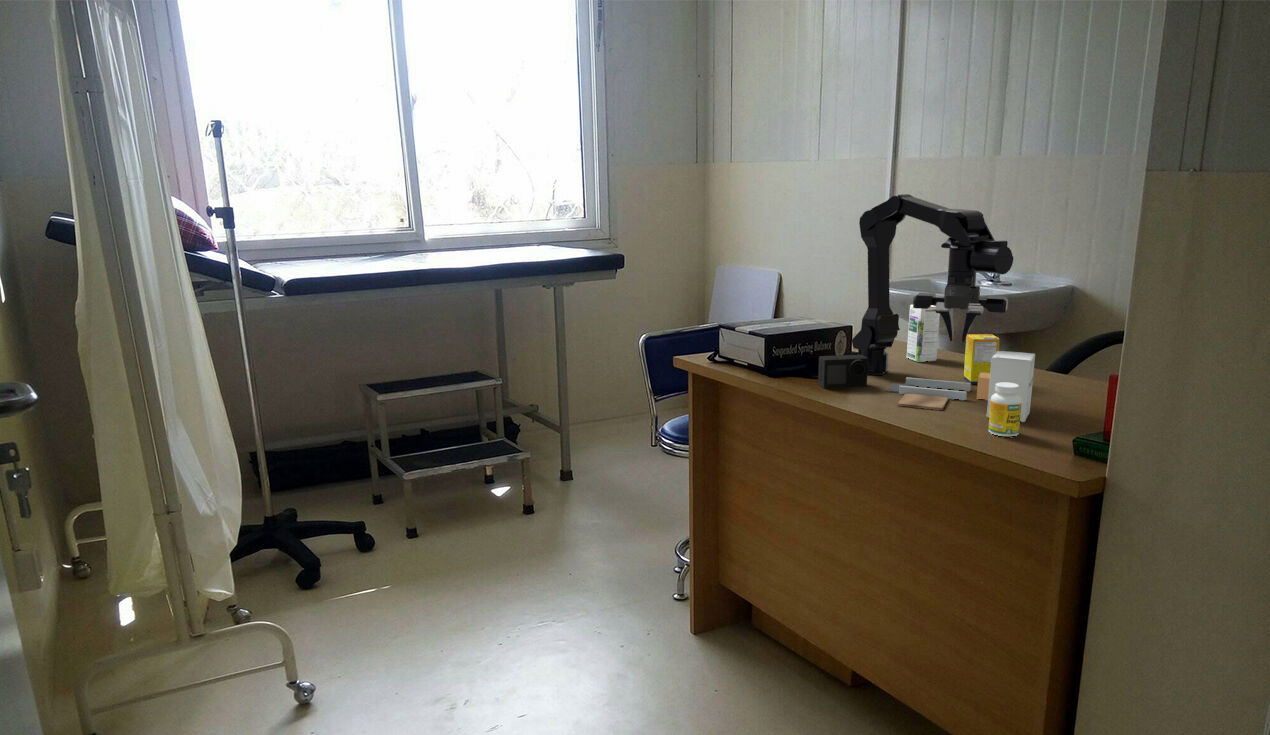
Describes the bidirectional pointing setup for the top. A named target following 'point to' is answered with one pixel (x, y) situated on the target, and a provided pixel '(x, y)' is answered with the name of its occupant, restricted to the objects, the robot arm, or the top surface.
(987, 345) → the supplement box
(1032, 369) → the supplement box
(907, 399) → the coaster
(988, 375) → the block
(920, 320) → the syrup box
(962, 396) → the channel
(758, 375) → the top surface
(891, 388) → the mat
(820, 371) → the digital camera
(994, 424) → the supplement bottle
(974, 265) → the robot arm
